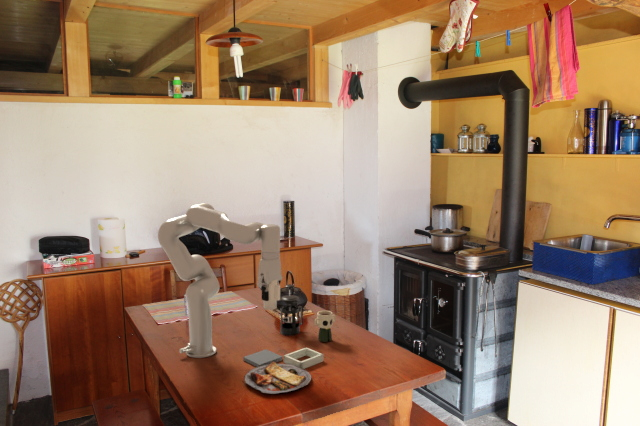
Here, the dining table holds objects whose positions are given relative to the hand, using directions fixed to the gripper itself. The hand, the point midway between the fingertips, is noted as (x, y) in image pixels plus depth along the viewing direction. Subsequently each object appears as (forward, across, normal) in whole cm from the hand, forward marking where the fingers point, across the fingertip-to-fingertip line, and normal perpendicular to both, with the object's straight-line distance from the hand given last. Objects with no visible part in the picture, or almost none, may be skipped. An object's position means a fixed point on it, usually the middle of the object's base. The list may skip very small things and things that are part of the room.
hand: (270, 298), depth 225 cm
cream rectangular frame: (+26, -7, +13) cm, 30 cm away
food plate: (+27, +13, +15) cm, 34 cm away
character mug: (+26, -32, +7) cm, 42 cm away
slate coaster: (+27, +1, -2) cm, 27 cm away
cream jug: (+4, 0, 0) cm, 4 cm away
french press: (+27, -32, -13) cm, 44 cm away
